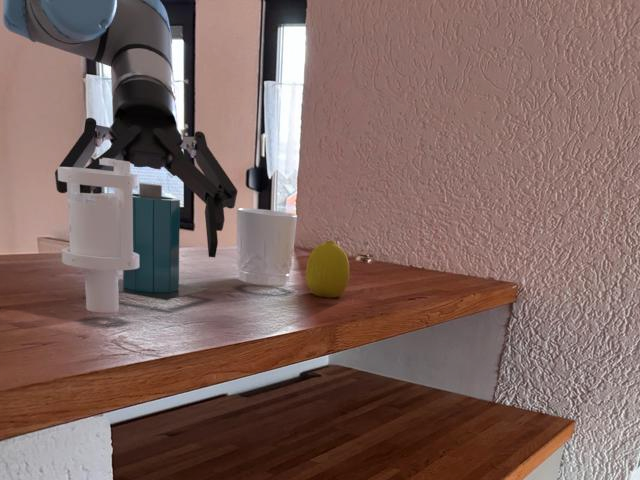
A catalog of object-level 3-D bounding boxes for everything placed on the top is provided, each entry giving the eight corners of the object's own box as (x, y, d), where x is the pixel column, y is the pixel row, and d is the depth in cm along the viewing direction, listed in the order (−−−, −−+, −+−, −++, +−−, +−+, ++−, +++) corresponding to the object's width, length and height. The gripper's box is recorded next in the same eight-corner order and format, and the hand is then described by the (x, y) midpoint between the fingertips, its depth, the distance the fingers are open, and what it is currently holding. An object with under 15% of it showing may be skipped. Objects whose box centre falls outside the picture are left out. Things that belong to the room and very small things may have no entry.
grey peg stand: (87, 296, 83) (83, 178, 78) (136, 286, 91) (135, 179, 86) (167, 310, 80) (167, 189, 75) (209, 298, 89) (212, 189, 84)
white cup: (283, 297, 96) (289, 217, 92) (225, 289, 96) (228, 209, 92) (297, 289, 103) (303, 214, 99) (243, 281, 104) (247, 207, 100)
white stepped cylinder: (154, 322, 74) (154, 164, 69) (103, 332, 69) (99, 159, 63) (102, 310, 77) (97, 156, 71) (48, 318, 71) (39, 151, 65)
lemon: (295, 300, 95) (300, 236, 92) (328, 299, 98) (334, 237, 95) (320, 309, 91) (326, 242, 88) (354, 307, 95) (361, 243, 92)
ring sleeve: (111, 286, 83) (109, 193, 79) (142, 280, 89) (141, 193, 85) (160, 295, 82) (160, 200, 78) (188, 288, 88) (189, 199, 84)
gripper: (241, 137, 97) (256, 272, 90) (36, 112, 89) (36, 258, 82) (250, 91, 90) (267, 232, 83) (29, 59, 82) (28, 213, 75)
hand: (152, 245), depth 83 cm, fingers open, 13 cm apart
